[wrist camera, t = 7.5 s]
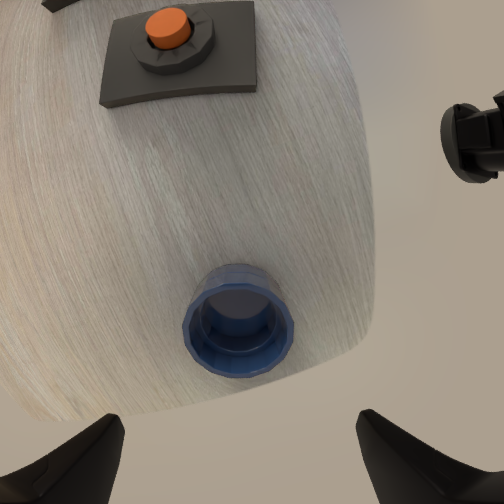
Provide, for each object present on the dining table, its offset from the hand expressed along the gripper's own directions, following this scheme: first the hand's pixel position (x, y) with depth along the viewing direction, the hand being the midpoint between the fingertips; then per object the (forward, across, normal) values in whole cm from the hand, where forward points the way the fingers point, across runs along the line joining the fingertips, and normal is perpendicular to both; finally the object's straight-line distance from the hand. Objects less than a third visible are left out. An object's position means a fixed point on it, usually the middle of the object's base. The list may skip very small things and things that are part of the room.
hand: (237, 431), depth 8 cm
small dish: (+12, 0, 0) cm, 12 cm away
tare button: (+9, +4, -19) cm, 21 cm away
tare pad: (+12, +4, -19) cm, 23 cm away
